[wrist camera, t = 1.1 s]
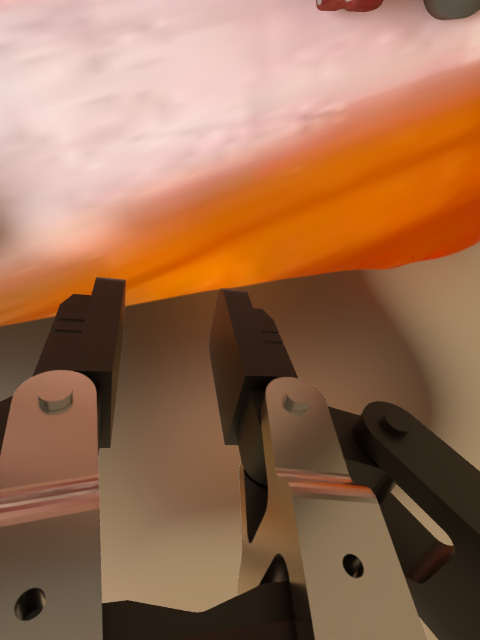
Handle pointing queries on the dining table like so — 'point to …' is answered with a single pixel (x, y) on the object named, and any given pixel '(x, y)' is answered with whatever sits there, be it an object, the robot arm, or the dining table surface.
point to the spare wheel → (451, 8)
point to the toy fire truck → (348, 5)
